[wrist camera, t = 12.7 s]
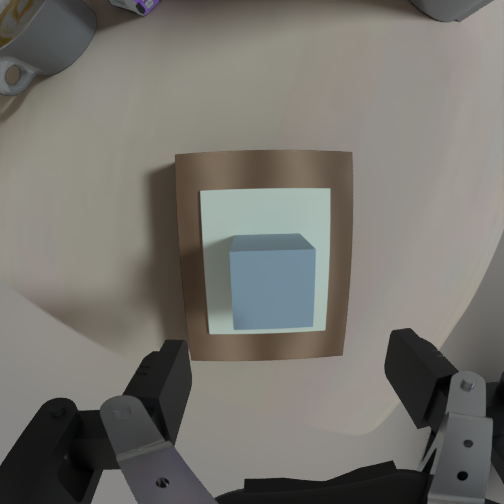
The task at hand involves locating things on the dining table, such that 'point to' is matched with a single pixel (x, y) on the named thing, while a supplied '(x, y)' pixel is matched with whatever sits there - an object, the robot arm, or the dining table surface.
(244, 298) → the slate block
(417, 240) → the dining table surface
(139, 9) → the candy box
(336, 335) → the walnut base
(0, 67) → the coffee mug
